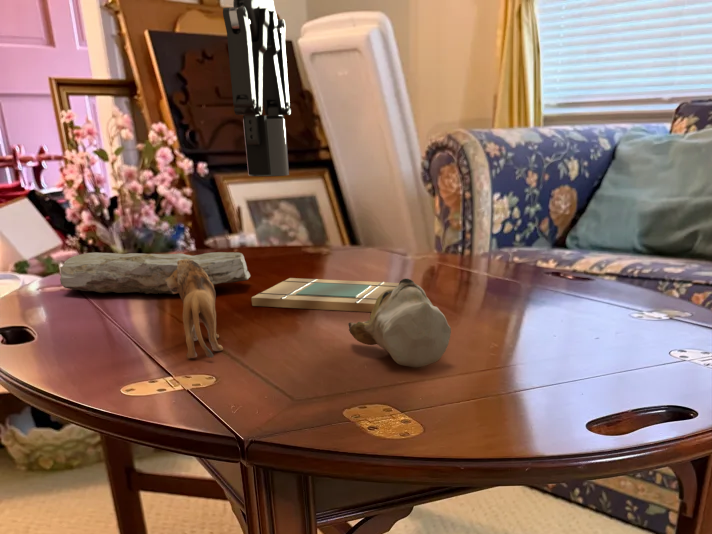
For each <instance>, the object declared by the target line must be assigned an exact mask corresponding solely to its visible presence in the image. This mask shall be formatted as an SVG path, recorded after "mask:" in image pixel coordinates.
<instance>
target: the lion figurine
mask: <svg viewBox="0 0 712 534" xmlns="http://www.w3.org/2000/svg"><path fill="white" fill-rule="evenodd" d="M177 264H178V265H177V269H176V270H175V271H174V272H173V274H172V275H171V276H170V277H168V278H167V279H166V280H165V282H166V283H167V286H168V287H169V288H170V289H171V290H172V293H173V294H172V295H177V294H179V297H180V299H181V302H182V305H183V308H182V323H183V329H184V334H185V344H186V347H187V353H186V358H187V359H195V358H197V357H198V353H197V352H196V348H195V342H197V341H198V343H199V345H200V347H201V348H202V350H203V351H204V353H205V356H206V357H208V358H210V359H211V358H214V354H213V351H214V352H220V351H221V352H222V351H223V350H224V347H223V345H221V344H219V343H218V340H217V339H219V338H220V335H219V334H217V311H216V298H217V293H216V289H215V284H214V285H213V283H212V282H211V281H210V279H209V277H208V275H207V273H206V272H205V271H204V270H203V267H202V266H200V265H199V264H198V263H196V262H194V261H193V260H190V259H184V260H179V261H178V262H177ZM200 323H203V325H204V326H205V329H206V331H207V336H208V341H209V344H210V346H211V349H212V350H211V349H210V348H209V347H208V346H207V345H206V343H205V341H204V338H203V335H202V331H201V326H200Z"/></svg>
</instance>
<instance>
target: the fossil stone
mask: <svg viewBox="0 0 712 534" xmlns="http://www.w3.org/2000/svg"><path fill="white" fill-rule="evenodd" d="M184 259H190V260H193V261H194V262H196V263H198V264H199V265H200V266H202V267H203V270H204V271H205V272H206V273H207V275H208V277H209V279H210V281H211V282H212V283H213V285H214V286H215V285H218V284H227V283H228V284H229V283H238V282H245V281H246V282H247V281H248V280H249V278H251V273H250V272H249V270H248V266H247V262H246V260H245V259H246V258H245V256H244V254H243V253H242V252H239V251H238V252H236V251H235V252H233V251H232V252H231V251H229V252H225V251H224V252H223V251H217V252H204V253H201V254H196V255H190V254H185V253H136V252H135V253H133V252H132V253H131V252H129V253H116V252H115V253H114V252H113V253H112V252H86V253H82V254H78V255H77V254H76V255H73V256H71V257H69V258H67V259H66V260H65V261H64V263H63V264H62V266H60V267H59V269H60V270H59V271H60V278H59V281H60V285H61V286H62V287H63V288H65V289H68V290H73V291H82V292H96V293H99V294H108V293H117V294H118V293H129V294H130V293H139V294H143V293H144V294H146V295H149V294H155V295H158V293H159V294H168V295H174V294H173V293H172V290H171V289H170V288H169V287H168V286H167V283H166V282H165V280H166V279H167V278H168V277H170V276H171V275H172V274H173V272H174V271H175V270H176V269H177V265H178V264H177V262H178V261H179V260H184Z"/></svg>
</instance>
